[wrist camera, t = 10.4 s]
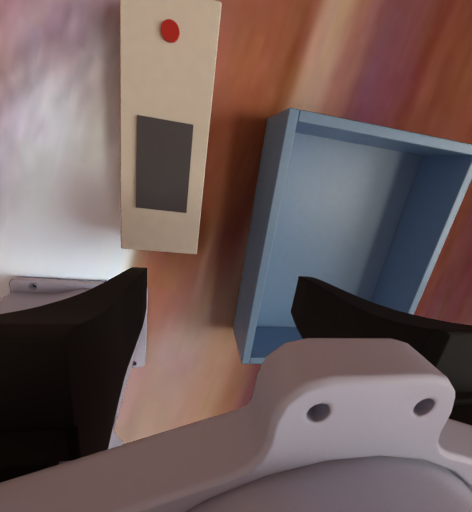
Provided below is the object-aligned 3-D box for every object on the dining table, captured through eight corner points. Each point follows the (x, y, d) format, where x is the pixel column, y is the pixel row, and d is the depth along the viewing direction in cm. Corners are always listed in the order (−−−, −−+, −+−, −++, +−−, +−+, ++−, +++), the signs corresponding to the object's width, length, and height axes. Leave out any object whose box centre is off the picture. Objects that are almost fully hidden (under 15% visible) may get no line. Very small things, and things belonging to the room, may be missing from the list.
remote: (130, 235, 19) (119, 249, 16) (132, 7, 15) (118, -30, 12) (196, 241, 20) (196, 255, 17) (216, 28, 16) (222, -1, 13)
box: (232, 328, 24) (241, 364, 20) (267, 118, 18) (289, 106, 14) (361, 331, 26) (392, 363, 22) (427, 148, 21) (485, 147, 17)
